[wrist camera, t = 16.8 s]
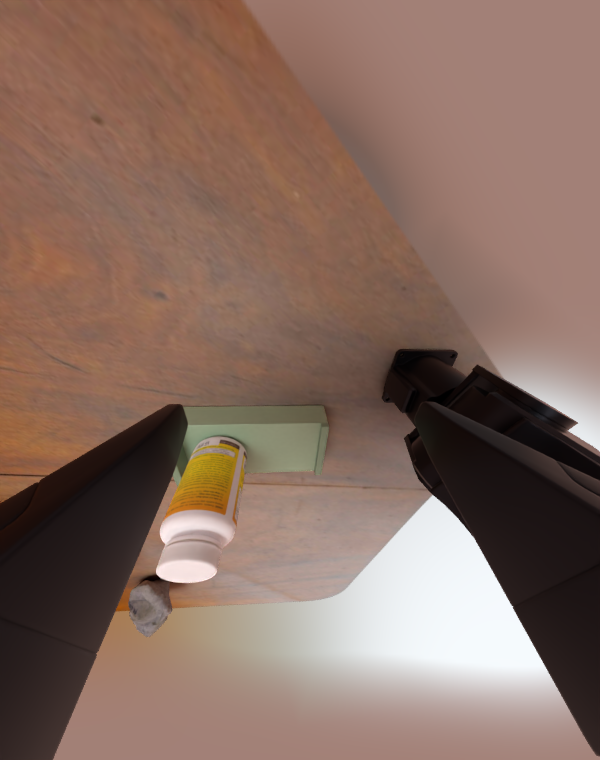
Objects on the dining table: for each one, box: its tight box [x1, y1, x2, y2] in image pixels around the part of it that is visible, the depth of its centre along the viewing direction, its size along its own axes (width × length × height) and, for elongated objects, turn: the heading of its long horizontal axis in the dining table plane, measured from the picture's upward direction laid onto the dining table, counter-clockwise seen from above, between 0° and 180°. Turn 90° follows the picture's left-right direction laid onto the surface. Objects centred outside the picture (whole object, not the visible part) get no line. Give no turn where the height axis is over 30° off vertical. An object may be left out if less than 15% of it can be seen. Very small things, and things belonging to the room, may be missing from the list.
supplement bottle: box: [156, 436, 247, 583], centre depth 19 cm, size 6×6×10 cm
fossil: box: [128, 579, 172, 637], centre depth 44 cm, size 11×9×8 cm
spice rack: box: [173, 405, 329, 487], centre depth 24 cm, size 16×8×5 cm, turn 87°
